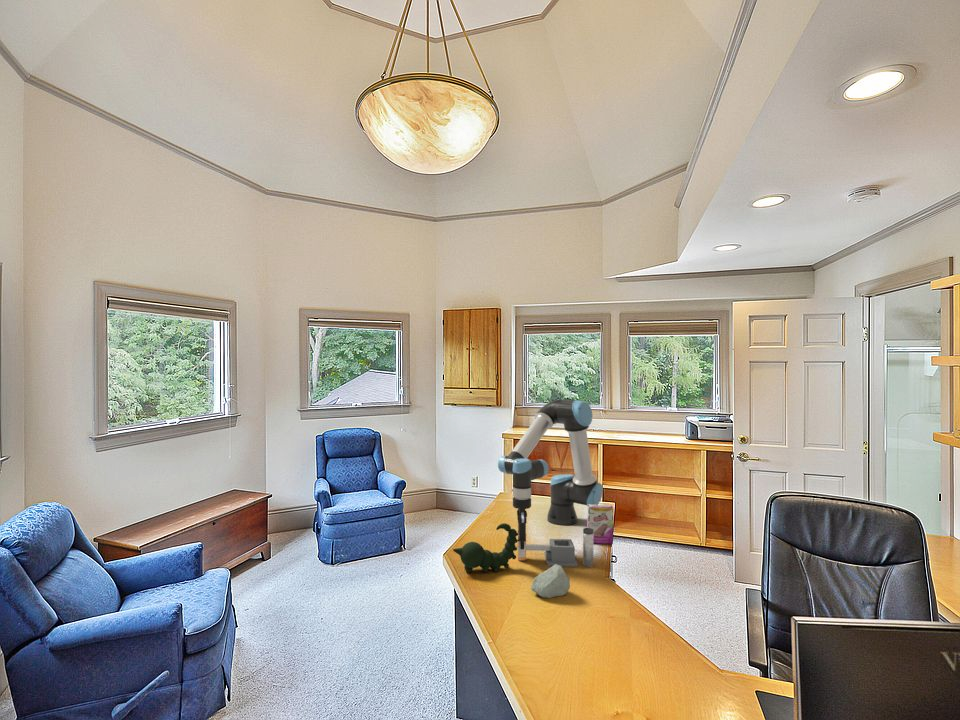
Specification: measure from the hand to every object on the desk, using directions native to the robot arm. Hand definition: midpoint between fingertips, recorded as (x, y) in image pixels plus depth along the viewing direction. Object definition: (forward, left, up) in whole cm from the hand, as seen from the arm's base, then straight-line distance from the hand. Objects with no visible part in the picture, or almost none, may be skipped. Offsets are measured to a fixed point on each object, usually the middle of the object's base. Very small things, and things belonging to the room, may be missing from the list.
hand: (521, 554), depth 200 cm
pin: (0, +6, -2) cm, 7 cm away
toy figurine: (+11, -15, -2) cm, 18 cm away
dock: (0, +16, -2) cm, 16 cm away
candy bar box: (-21, +36, -2) cm, 42 cm away
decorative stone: (+29, +8, -2) cm, 30 cm away
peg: (+4, +26, -2) cm, 27 cm away
